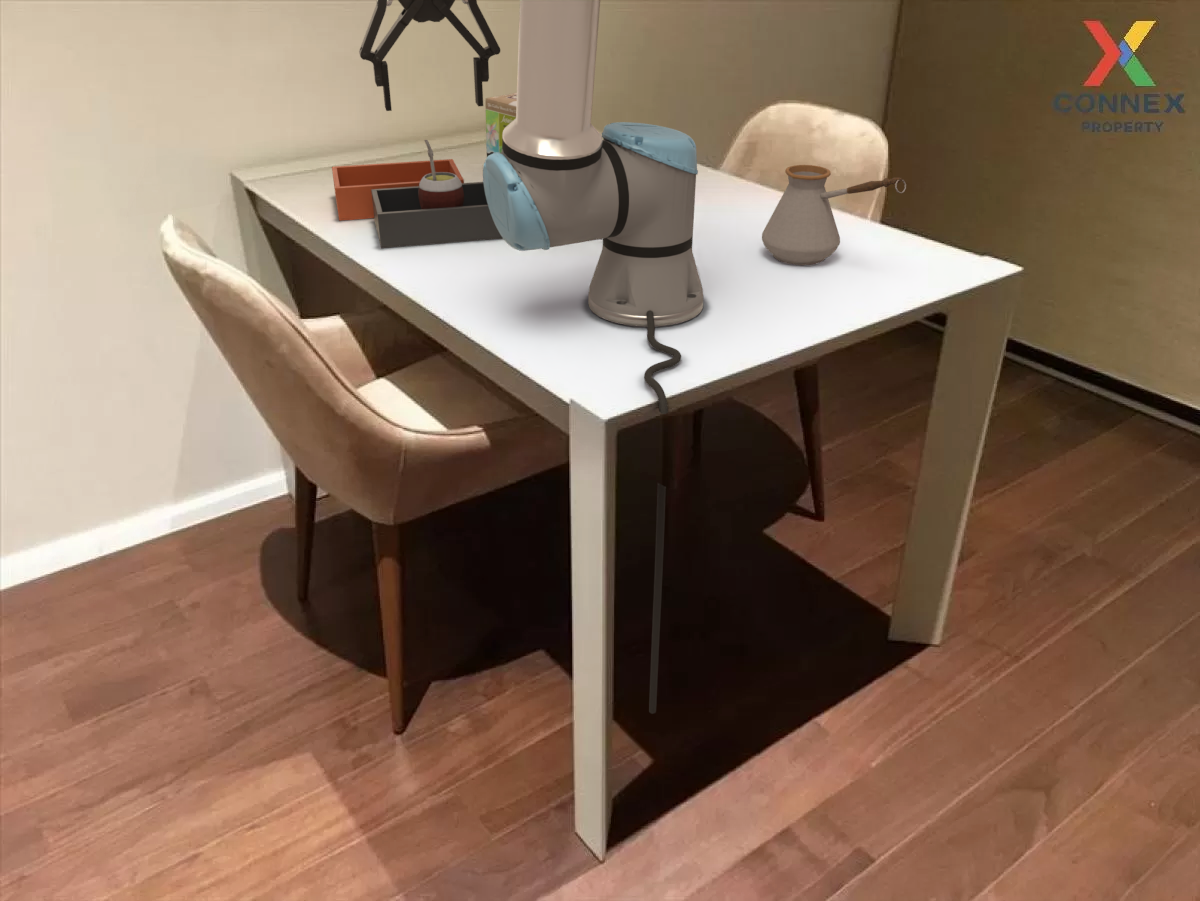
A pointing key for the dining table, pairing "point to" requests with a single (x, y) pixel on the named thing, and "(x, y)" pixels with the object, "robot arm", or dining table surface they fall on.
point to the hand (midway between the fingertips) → (434, 106)
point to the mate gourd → (439, 188)
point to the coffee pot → (808, 216)
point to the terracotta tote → (378, 183)
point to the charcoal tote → (431, 218)
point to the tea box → (498, 119)
